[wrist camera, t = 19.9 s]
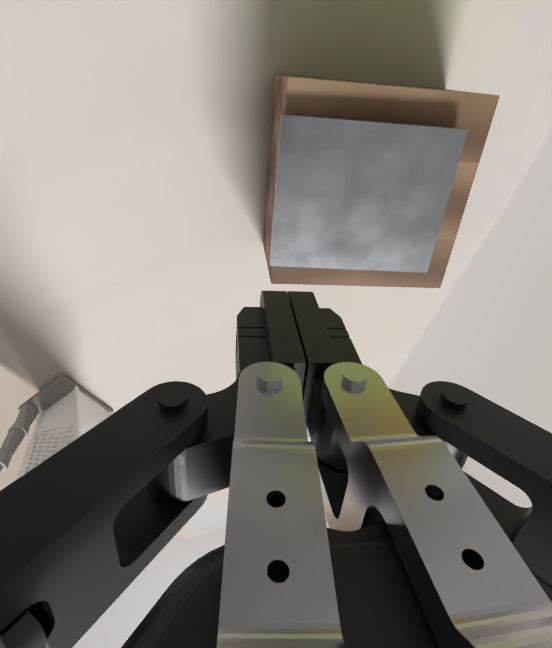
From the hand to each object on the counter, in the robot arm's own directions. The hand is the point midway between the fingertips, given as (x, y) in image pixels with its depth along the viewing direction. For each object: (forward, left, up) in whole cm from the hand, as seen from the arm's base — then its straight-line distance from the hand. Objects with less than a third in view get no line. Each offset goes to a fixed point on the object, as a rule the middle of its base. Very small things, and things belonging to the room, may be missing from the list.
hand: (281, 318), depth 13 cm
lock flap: (+1, +8, -19) cm, 20 cm away
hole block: (+1, +9, -27) cm, 28 cm away
